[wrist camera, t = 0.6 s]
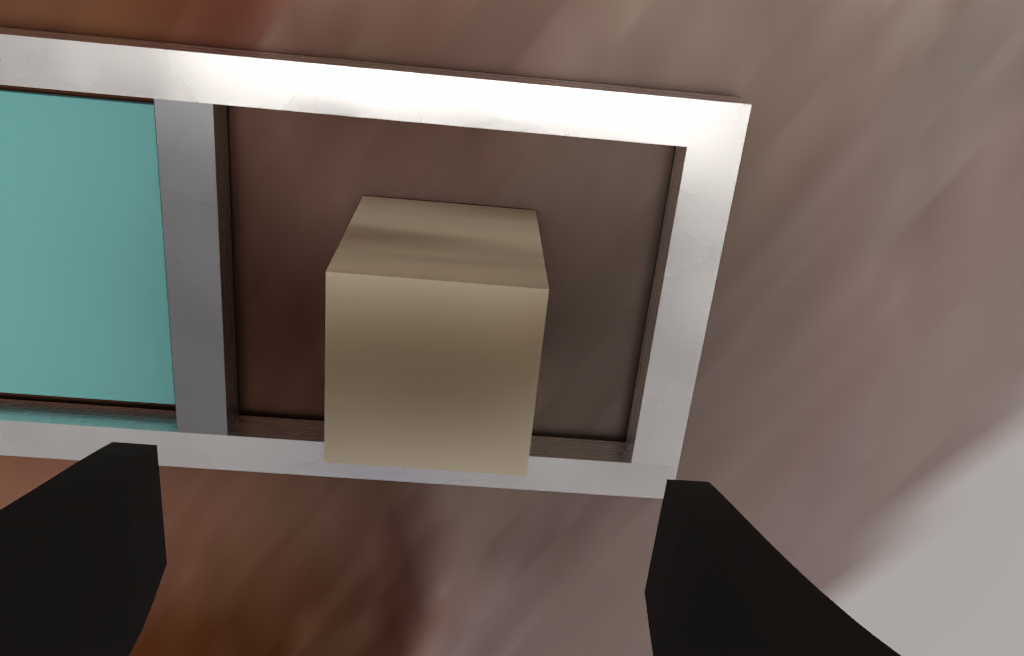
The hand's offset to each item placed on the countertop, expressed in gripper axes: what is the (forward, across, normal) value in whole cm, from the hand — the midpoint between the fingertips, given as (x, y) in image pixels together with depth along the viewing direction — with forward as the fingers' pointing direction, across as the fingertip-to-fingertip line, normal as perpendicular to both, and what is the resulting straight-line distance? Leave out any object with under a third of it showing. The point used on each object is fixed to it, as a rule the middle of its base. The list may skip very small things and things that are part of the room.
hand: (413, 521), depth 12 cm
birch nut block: (+9, 0, 0) cm, 9 cm away
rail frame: (+9, +6, 0) cm, 11 cm away
